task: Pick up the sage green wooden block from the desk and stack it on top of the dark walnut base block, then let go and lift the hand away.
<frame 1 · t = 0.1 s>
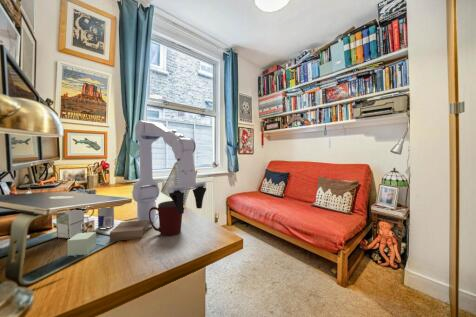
hand: (190, 210, 65), 11 cm above the table, tool pointing down, fingers open, 7 cm apart
mug: (166, 233, 72), on the table
energy drink: (106, 227, 77), on the table
sage block: (82, 252, 58), on the table
syrup box: (71, 235, 69), on the table
walnut base: (130, 233, 71), on the table
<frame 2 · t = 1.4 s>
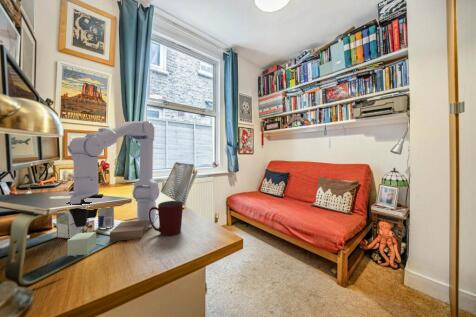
hand: (86, 221, 57), 9 cm above the table, tool pointing down, fingers open, 7 cm apart
nothing on the table moved.
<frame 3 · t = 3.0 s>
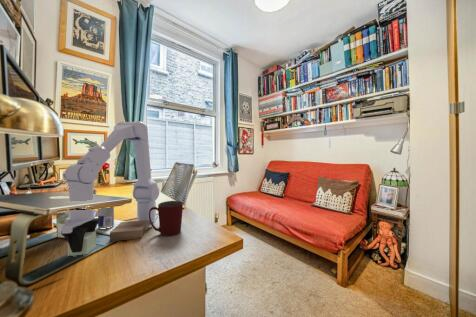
hand: (82, 247, 58), 1 cm above the table, tool pointing down, fingers closed on sage block, 5 cm apart
sage block: (82, 251, 58), on the table, touching gripper
everything else where it was.
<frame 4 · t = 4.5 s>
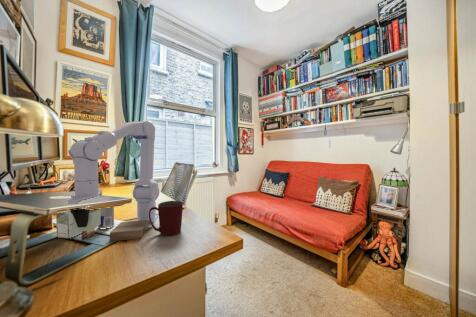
hand: (87, 223, 59), 8 cm above the table, tool pointing down, fingers closed on sage block, 5 cm apart
sage block: (87, 227, 59), point 7 cm above the table, touching gripper
everything else where it was.
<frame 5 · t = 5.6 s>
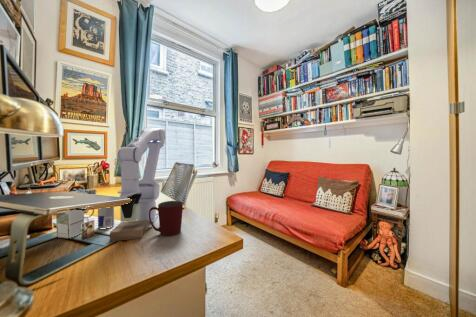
hand: (130, 215, 70), 7 cm above the table, tool pointing down, fingers closed on sage block, 5 cm apart
sage block: (130, 218, 70), point 6 cm above the table, touching gripper
everything else where it was.
when the fingers open (5 cm above the table, at t = 6.4 s): sage block stays where it is, resting on walnut base.
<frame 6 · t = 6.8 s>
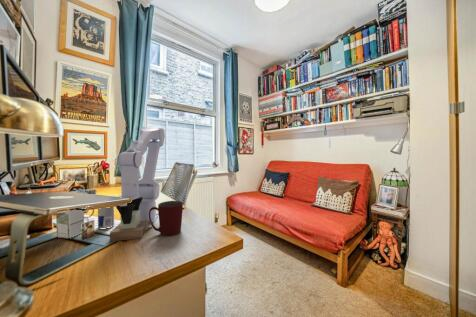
hand: (130, 220, 70), 5 cm above the table, tool pointing down, fingers open, 7 cm apart
sage block: (130, 225, 71), point 3 cm above the table, touching walnut base
everything else where it was.
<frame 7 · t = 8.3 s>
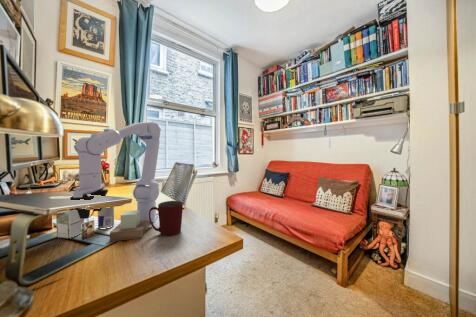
hand: (91, 214, 62), 10 cm above the table, tool pointing down, fingers open, 7 cm apart
nothing on the table moved.
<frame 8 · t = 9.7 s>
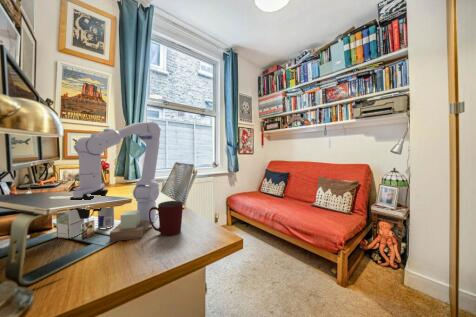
hand: (91, 214, 62), 10 cm above the table, tool pointing down, fingers open, 7 cm apart
nothing on the table moved.
at the end: sage block 0.0 cm off-centre on the walnut base, point 3.0 cm above the walnut base's base; sage block tilted 0°; the gripper is holding nothing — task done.
